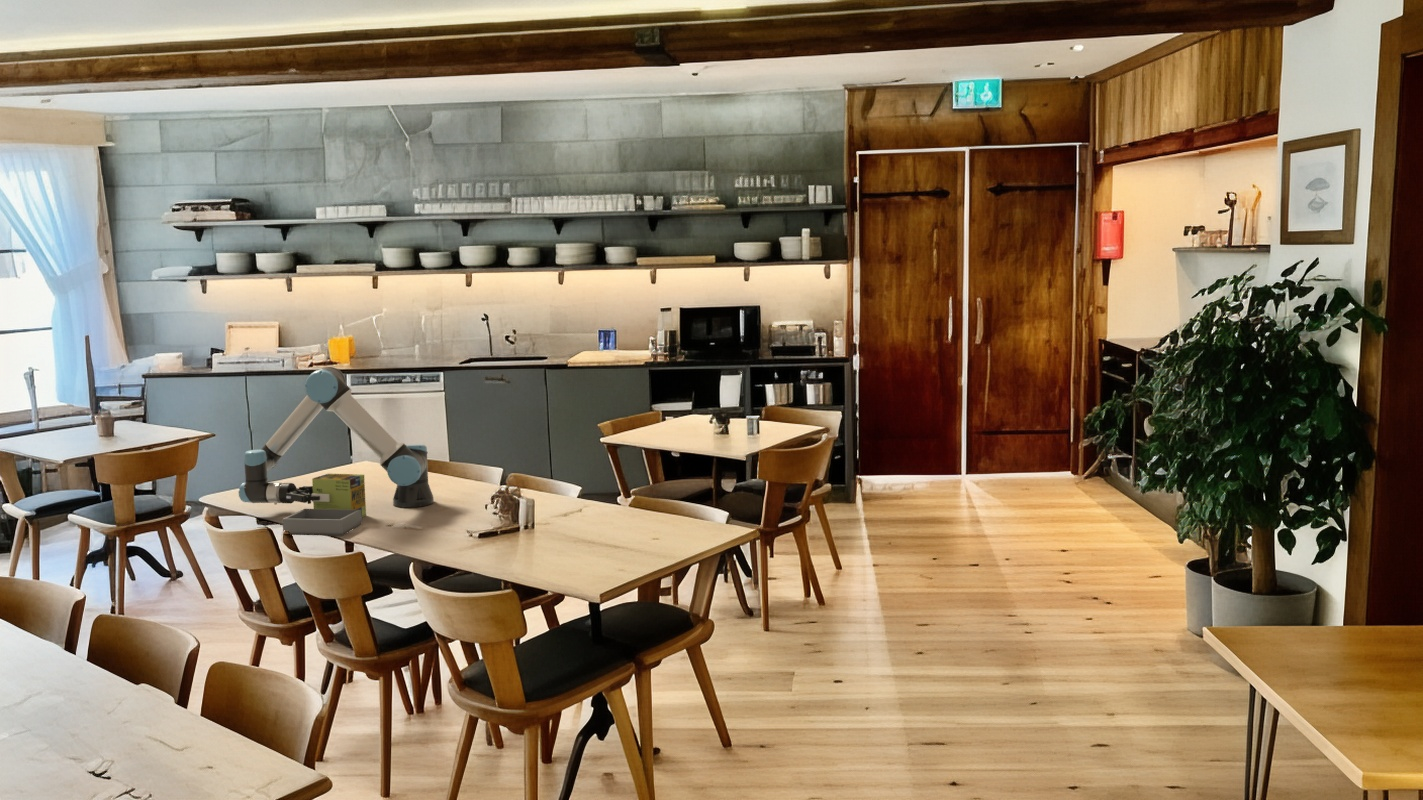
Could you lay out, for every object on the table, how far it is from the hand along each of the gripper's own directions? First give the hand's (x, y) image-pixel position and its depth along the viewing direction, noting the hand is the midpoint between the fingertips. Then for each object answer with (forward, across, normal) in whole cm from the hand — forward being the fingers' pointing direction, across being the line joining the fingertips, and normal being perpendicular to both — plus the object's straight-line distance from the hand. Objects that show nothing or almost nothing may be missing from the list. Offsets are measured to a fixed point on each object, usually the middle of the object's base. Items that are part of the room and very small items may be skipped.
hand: (337, 493), depth 394 cm
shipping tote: (+3, +18, -9) cm, 20 cm away
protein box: (+1, 0, -9) cm, 9 cm away
